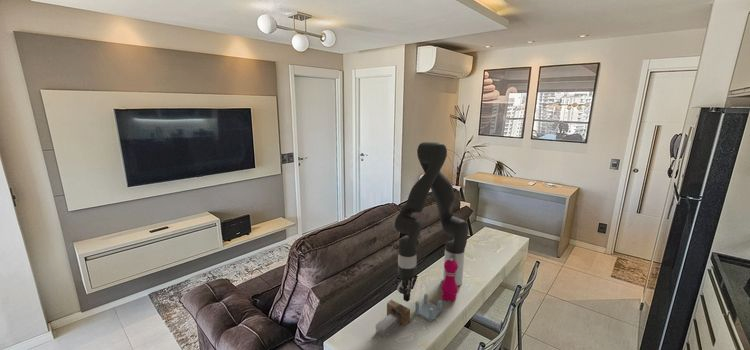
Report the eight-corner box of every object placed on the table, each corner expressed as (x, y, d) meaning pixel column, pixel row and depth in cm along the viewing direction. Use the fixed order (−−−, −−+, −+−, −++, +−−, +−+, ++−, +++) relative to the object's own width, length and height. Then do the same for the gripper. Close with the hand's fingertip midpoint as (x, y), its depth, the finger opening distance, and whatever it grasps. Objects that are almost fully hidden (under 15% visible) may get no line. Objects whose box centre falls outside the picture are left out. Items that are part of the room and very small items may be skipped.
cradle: (425, 302, 140) (426, 292, 138) (441, 310, 134) (442, 300, 133) (414, 313, 133) (414, 302, 132) (430, 321, 128) (431, 310, 127)
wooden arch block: (391, 312, 133) (391, 299, 132) (409, 322, 127) (410, 309, 126) (386, 315, 131) (387, 303, 130) (405, 326, 125) (406, 313, 124)
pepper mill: (454, 292, 147) (457, 253, 143) (458, 302, 140) (462, 261, 136) (439, 292, 147) (441, 253, 142) (442, 302, 140) (445, 261, 135)
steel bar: (400, 313, 133) (400, 305, 132) (408, 317, 131) (408, 309, 130) (375, 334, 121) (375, 325, 120) (383, 339, 119) (383, 329, 118)
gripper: (408, 254, 135) (408, 289, 139) (389, 266, 125) (389, 304, 129) (423, 259, 130) (422, 296, 134) (405, 273, 120) (404, 312, 124)
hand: (406, 300), depth 132 cm, fingers closed
